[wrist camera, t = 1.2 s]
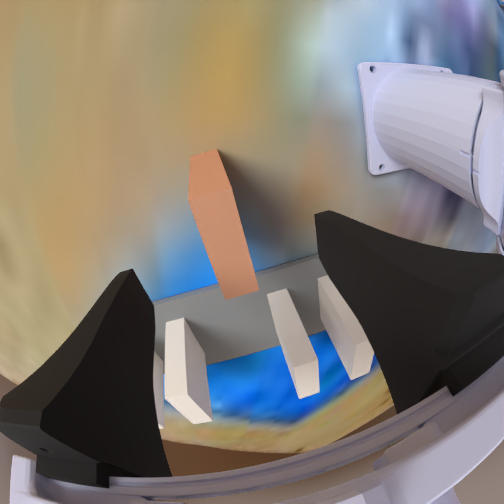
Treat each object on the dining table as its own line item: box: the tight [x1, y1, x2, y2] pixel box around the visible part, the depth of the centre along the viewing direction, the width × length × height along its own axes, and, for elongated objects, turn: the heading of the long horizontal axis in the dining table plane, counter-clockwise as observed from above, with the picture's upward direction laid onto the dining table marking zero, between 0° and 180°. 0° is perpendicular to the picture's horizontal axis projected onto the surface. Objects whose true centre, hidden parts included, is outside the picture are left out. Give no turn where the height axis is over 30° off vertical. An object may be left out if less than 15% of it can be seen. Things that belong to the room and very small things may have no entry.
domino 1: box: [153, 351, 164, 429], centre depth 20 cm, size 2×5×7 cm, turn 13°
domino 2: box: [165, 318, 213, 424], centre depth 20 cm, size 2×5×7 cm, turn 13°
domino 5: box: [318, 275, 374, 380], centre depth 20 cm, size 2×5×7 cm, turn 13°
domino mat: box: [152, 254, 327, 374], centre depth 23 cm, size 22×9×1 cm, turn 103°
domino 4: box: [267, 288, 319, 399], centre depth 20 cm, size 2×5×7 cm, turn 13°
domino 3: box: [188, 149, 259, 300], centre depth 14 cm, size 2×5×7 cm, turn 13°
